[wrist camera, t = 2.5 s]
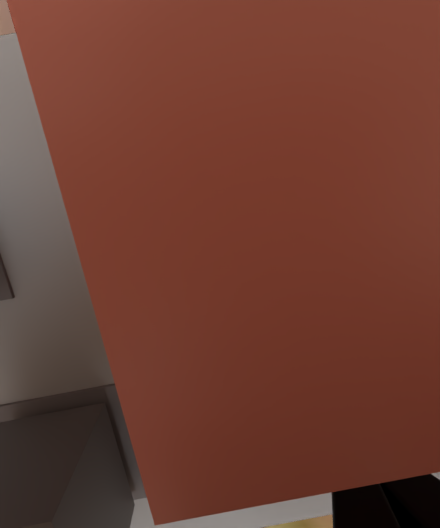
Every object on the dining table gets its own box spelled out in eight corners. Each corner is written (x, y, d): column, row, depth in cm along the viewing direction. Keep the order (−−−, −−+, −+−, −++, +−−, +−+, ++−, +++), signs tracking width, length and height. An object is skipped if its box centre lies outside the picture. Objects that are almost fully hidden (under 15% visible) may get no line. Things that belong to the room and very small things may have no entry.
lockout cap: (428, -22, 7) (960, -503, 2) (439, 276, 8) (771, 409, 4) (120, 36, 7) (-79, -308, 2) (183, 323, 8) (155, 526, 4)
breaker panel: (454, -23, 8) (523, -79, 6) (465, 451, 11) (514, 501, 9) (-492, 154, 8) (-683, 146, 6) (-226, 581, 11) (-306, 656, 9)
